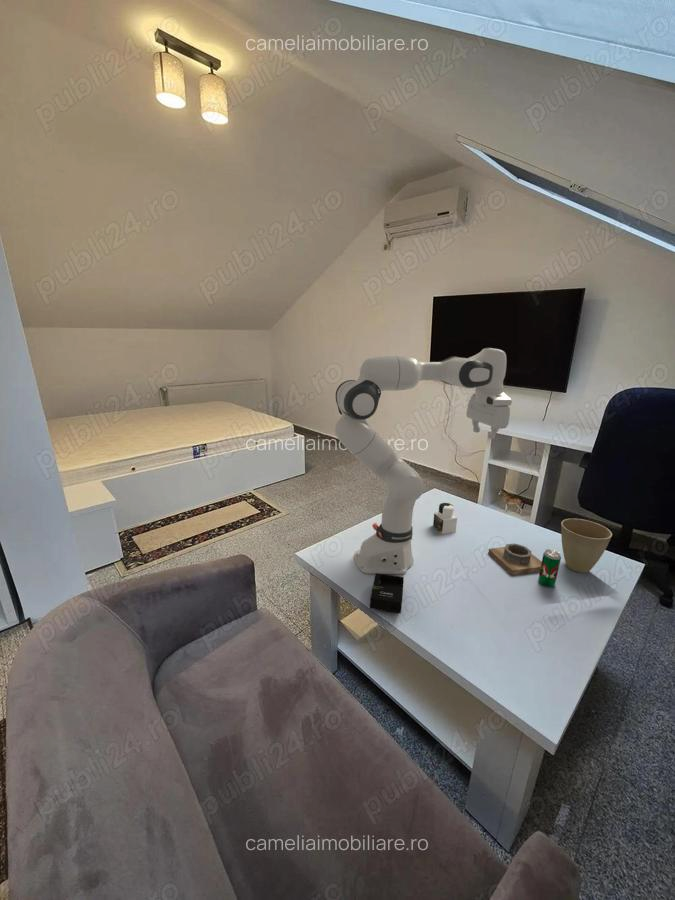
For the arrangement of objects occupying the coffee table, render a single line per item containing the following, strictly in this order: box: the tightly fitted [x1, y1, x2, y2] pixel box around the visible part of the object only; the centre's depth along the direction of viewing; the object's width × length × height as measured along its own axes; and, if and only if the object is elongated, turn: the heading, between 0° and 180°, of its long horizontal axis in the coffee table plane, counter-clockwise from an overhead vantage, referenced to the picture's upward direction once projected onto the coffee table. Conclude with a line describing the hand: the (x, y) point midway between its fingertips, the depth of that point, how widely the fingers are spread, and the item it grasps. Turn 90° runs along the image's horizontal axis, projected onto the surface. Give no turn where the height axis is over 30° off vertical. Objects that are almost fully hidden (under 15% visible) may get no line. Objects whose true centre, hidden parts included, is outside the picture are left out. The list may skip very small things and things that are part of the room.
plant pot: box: [560, 518, 613, 574], centre depth 129 cm, size 15×15×16 cm
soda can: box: [538, 548, 562, 588], centre depth 121 cm, size 5×5×12 cm
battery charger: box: [369, 573, 405, 614], centre depth 115 cm, size 13×10×4 cm
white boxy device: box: [432, 502, 458, 535], centre depth 155 cm, size 7×7×12 cm
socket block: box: [487, 543, 542, 576], centre depth 134 cm, size 14×14×5 cm
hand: (483, 435), depth 128 cm, fingers open, 8 cm apart
